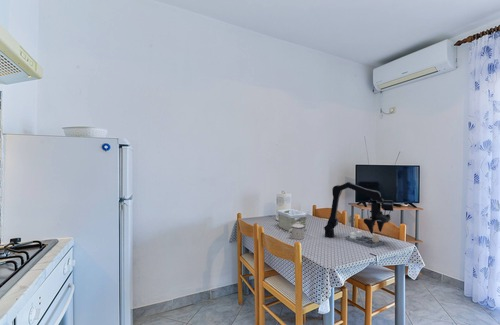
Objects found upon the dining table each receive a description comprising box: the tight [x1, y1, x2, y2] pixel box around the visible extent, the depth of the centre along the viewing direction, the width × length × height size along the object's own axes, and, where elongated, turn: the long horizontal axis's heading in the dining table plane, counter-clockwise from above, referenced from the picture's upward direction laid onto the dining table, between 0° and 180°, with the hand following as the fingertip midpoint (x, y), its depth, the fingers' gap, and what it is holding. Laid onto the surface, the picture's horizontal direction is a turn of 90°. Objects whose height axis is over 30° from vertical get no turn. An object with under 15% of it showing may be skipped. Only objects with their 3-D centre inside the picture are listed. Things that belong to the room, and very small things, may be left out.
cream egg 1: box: [349, 231, 356, 239], centre depth 173 cm, size 4×4×6 cm
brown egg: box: [371, 234, 380, 243], centre depth 165 cm, size 4×4×6 cm
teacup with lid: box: [288, 222, 305, 240], centre depth 181 cm, size 12×9×12 cm
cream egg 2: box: [355, 230, 363, 238], centre depth 176 cm, size 4×4×6 cm
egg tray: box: [345, 234, 385, 249], centre depth 169 cm, size 14×20×3 cm
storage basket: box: [277, 208, 308, 233], centre depth 207 cm, size 24×16×15 cm
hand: (376, 232), depth 165 cm, fingers open, 9 cm apart
